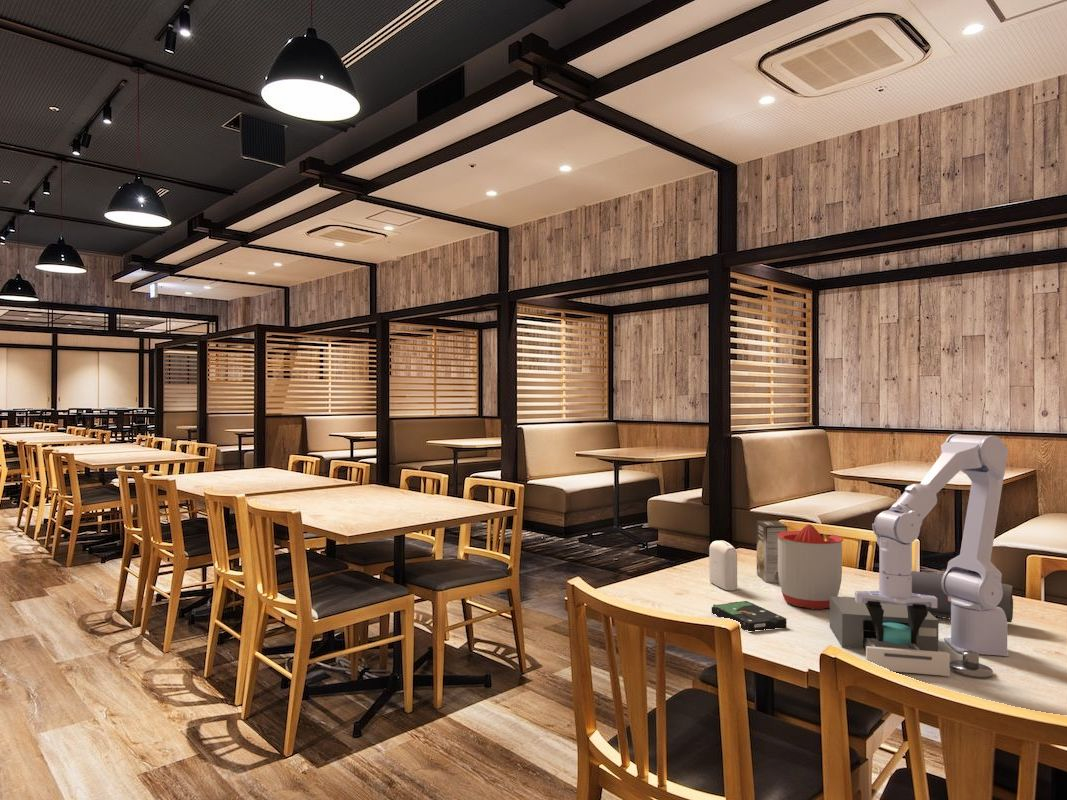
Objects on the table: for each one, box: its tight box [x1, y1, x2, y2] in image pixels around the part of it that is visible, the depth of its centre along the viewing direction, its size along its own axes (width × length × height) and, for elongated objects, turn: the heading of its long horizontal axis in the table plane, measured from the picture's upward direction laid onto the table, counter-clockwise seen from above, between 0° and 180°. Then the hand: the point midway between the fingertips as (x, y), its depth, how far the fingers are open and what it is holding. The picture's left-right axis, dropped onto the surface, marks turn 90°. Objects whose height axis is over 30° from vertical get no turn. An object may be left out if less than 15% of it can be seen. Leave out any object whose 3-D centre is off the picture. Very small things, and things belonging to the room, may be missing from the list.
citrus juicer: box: [777, 523, 844, 611], centre depth 176 cm, size 16×17×20 cm
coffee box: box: [756, 520, 788, 583], centre depth 200 cm, size 9×6×16 cm
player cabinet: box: [829, 596, 940, 652], centre depth 148 cm, size 18×14×7 cm
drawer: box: [863, 637, 950, 677], centre depth 137 cm, size 14×16×4 cm
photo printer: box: [708, 540, 738, 591], centre depth 191 cm, size 10×4×12 cm, turn 13°
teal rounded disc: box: [882, 622, 911, 644], centre depth 137 cm, size 6×6×2 cm
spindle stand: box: [949, 650, 994, 680], centre depth 131 cm, size 7×7×4 cm
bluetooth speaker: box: [912, 570, 1014, 623], centre depth 164 cm, size 23×9×10 cm, turn 53°
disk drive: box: [711, 600, 787, 631], centre depth 161 cm, size 10×3×15 cm
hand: (895, 641), depth 138 cm, fingers closed on teal rounded disc, 5 cm apart
